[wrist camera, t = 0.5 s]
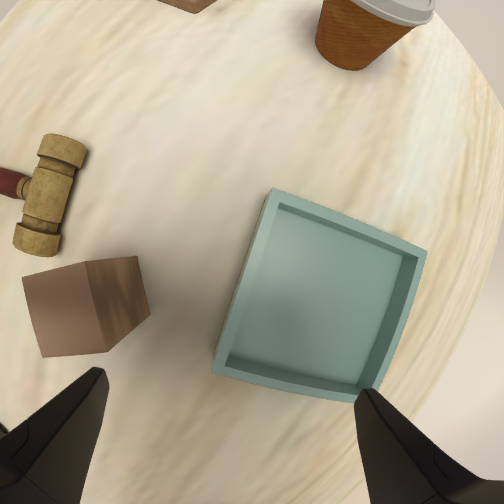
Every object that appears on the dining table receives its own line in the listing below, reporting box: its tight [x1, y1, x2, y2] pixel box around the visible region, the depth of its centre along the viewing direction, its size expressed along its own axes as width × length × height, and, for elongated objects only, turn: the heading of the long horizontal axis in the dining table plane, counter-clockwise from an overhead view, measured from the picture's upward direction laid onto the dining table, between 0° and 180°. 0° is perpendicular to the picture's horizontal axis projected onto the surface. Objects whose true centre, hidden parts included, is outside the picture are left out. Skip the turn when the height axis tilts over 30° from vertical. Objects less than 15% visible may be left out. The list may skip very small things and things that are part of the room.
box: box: [211, 188, 428, 403], centre depth 23 cm, size 14×14×4 cm
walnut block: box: [22, 256, 150, 358], centre depth 18 cm, size 5×5×10 cm
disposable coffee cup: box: [315, 0, 435, 70], centre depth 18 cm, size 10×10×12 cm
